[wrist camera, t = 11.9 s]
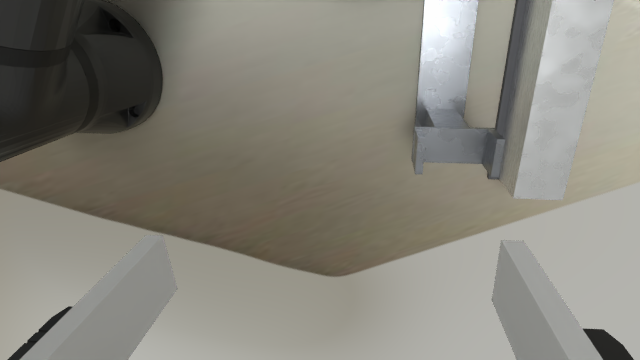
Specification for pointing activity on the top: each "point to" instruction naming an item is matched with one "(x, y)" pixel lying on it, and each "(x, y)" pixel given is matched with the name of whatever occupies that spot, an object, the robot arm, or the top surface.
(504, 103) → the mat
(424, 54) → the standards
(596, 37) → the rail
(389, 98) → the top surface
